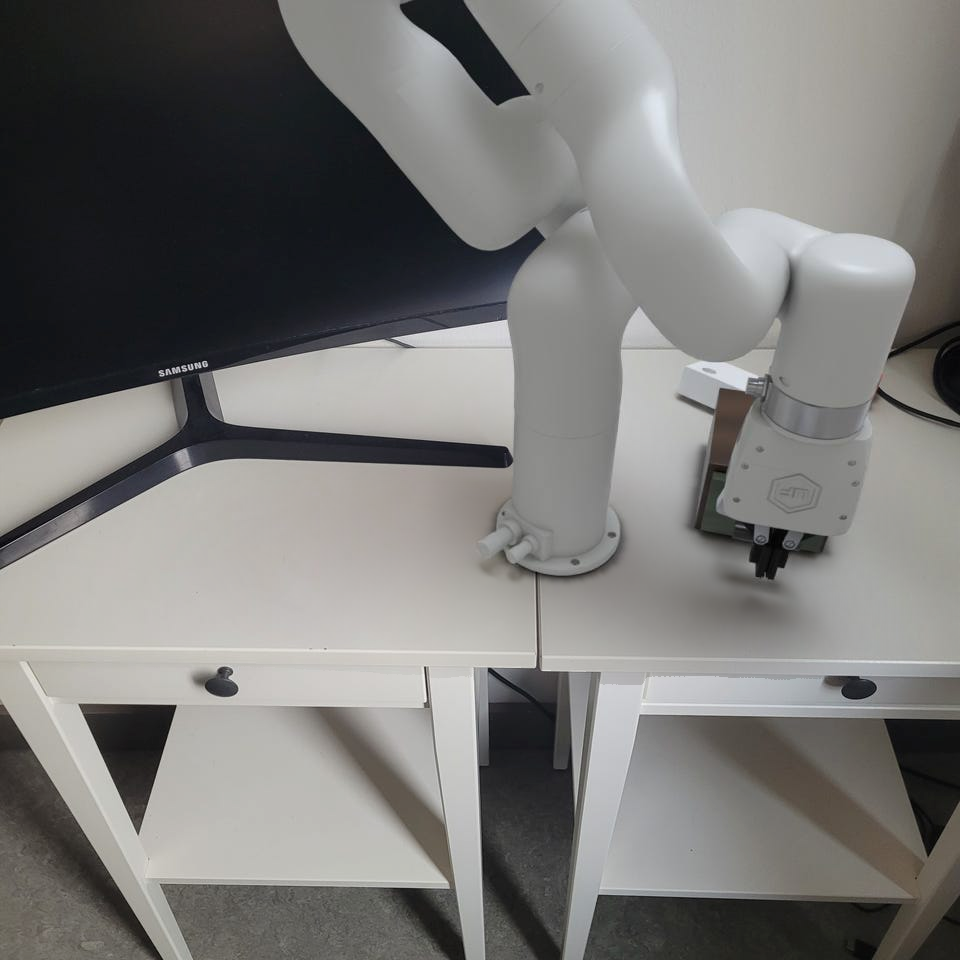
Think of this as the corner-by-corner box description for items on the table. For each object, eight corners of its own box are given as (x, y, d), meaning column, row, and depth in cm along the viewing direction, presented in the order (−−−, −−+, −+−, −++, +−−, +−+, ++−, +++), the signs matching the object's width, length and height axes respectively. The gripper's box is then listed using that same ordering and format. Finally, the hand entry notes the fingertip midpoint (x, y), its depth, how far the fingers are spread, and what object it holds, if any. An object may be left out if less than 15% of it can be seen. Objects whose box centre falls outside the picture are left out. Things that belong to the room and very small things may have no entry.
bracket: (797, 422, 99) (820, 365, 96) (772, 435, 94) (796, 375, 91) (704, 382, 106) (722, 327, 103) (677, 392, 101) (695, 335, 98)
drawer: (819, 586, 77) (839, 534, 72) (696, 561, 79) (708, 509, 75) (817, 474, 89) (834, 424, 85) (711, 456, 92) (722, 406, 87)
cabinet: (822, 552, 81) (847, 486, 76) (694, 527, 84) (708, 462, 79) (820, 469, 91) (842, 405, 86) (706, 449, 94) (719, 387, 88)
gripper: (712, 413, 61) (676, 581, 73) (927, 445, 58) (854, 615, 70) (717, 362, 67) (684, 526, 78) (915, 388, 63) (849, 555, 75)
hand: (764, 567), depth 74 cm, fingers closed
